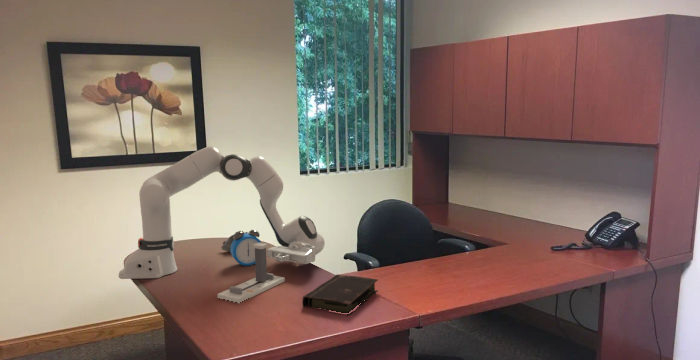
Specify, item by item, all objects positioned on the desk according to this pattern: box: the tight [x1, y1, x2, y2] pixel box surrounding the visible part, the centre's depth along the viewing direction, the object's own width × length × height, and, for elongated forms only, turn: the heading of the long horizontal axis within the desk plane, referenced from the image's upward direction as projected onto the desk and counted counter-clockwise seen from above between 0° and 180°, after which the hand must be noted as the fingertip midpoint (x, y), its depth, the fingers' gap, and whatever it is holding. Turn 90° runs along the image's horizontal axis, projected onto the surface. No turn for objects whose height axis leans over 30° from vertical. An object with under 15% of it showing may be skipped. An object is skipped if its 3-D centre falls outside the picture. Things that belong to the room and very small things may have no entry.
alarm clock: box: [230, 229, 263, 267], centre depth 214 cm, size 13×6×15 cm, turn 116°
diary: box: [302, 274, 379, 316], centre depth 175 cm, size 19×25×5 cm
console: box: [217, 272, 286, 304], centre depth 184 cm, size 26×10×4 cm, turn 150°
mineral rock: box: [221, 230, 250, 253], centre depth 235 cm, size 13×11×10 cm
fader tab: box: [253, 242, 269, 282], centre depth 188 cm, size 4×4×14 cm
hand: (277, 259), depth 197 cm, fingers closed
